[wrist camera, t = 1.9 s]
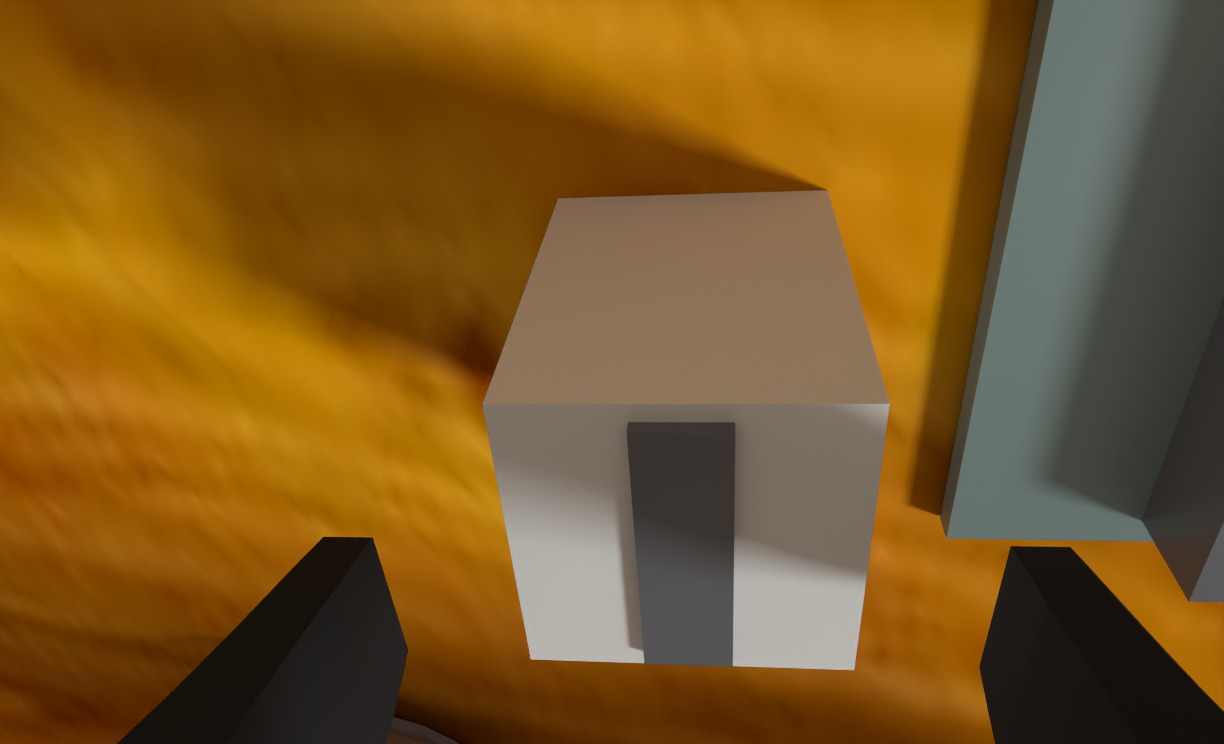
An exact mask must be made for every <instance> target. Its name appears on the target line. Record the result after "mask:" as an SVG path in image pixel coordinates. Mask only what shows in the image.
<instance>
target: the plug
mask: <svg viewBox="0 0 1224 744" xmlns="http://www.w3.org/2000/svg"><path fill="white" fill-rule="evenodd" d="M889 405H890V403H889V400H888V397H887V393H886V390H885V386H884V383H883V379H882V376H881V372H880V369H879V366H878V362H877V359H876V355H875V352H874V348H873V345H872V341H871V338H870V334H869V331H868V328H867V324H866V321H865V317H864V314H863V310H862V307H861V303H860V300H859V296H858V293H857V290H856V286H855V283H854V279H853V276H852V272H851V269H850V265H849V262H848V259H847V255H846V252H845V248H844V245H843V241H842V238H841V234H840V231H839V227H838V224H837V221H836V217H835V214H834V210H833V207H832V203H831V200H830V196H829V193H828V190H816V191H783V192H750V193H717V194H684V195H651V196H618V197H585V198H558V200H557V203H556V206H555V208H554V211H553V214H552V217H551V219H550V222H549V225H548V227H547V230H546V233H545V236H544V238H543V241H542V244H541V247H540V249H539V252H538V255H537V257H536V260H535V263H534V266H533V268H532V271H531V274H530V276H529V279H528V282H527V285H526V287H525V290H524V293H523V296H522V298H521V301H520V304H519V306H518V309H517V312H516V315H515V317H514V320H513V323H512V326H511V328H510V331H509V334H508V336H507V339H506V342H505V345H504V347H503V350H502V353H501V356H500V358H499V361H498V364H497V366H496V369H495V372H494V375H493V377H492V380H491V383H490V386H489V388H488V391H487V394H486V396H485V399H484V402H483V410H484V415H485V420H486V426H487V431H488V436H489V442H490V447H491V452H492V457H493V463H494V468H495V473H496V478H497V484H498V489H499V494H500V499H501V505H502V510H503V515H504V521H505V526H506V531H507V536H508V542H509V547H510V552H511V557H512V563H513V568H514V573H515V579H516V584H517V589H518V594H519V600H520V605H521V610H522V615H523V621H524V626H525V631H526V637H527V642H528V647H529V652H530V658H531V659H534V660H564V661H594V662H625V663H644V664H669V665H699V666H729V667H733V666H745V667H776V668H806V669H836V670H854V668H855V660H856V653H857V645H858V638H859V630H860V623H861V615H862V608H863V600H864V593H865V585H866V578H867V570H868V563H869V555H870V548H871V540H872V533H873V525H874V518H875V510H876V503H877V495H878V487H879V480H880V472H881V465H882V457H883V450H884V442H885V435H886V427H887V420H888V412H889Z"/></svg>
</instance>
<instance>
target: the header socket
mask: <svg viewBox="0 0 1224 744" xmlns="http://www.w3.org/2000/svg"><path fill="white" fill-rule="evenodd" d="M940 519H941V522H942V525H943V529H944V532H945V535H946V538H953V539H1022V540H1091V541H1154V543H1155V544H1156V546H1157V548H1158V550H1159V551H1160V553H1161V555H1162V556H1163V558H1164V560H1165V562H1166V563H1167V565H1168V567H1169V568H1170V570H1171V572H1172V573H1173V575H1174V577H1175V579H1176V580H1177V582H1178V584H1179V585H1180V587H1181V589H1182V591H1183V592H1184V594H1185V596H1186V597H1187V599H1188V601H1197V602H1224V0H1038V5H1037V10H1036V16H1035V21H1034V26H1033V31H1032V37H1031V42H1030V47H1029V52H1028V58H1027V63H1026V68H1025V73H1024V79H1023V84H1022V89H1021V94H1020V100H1019V105H1018V110H1017V116H1016V121H1015V126H1014V131H1013V137H1012V142H1011V147H1010V152H1009V158H1008V163H1007V168H1006V173H1005V179H1004V184H1003V189H1002V194H1001V200H1000V205H999V210H998V215H997V221H996V226H995V231H994V236H993V242H992V247H991V252H990V257H989V263H988V268H987V273H986V279H985V284H984V289H983V294H982V300H981V305H980V310H979V315H978V321H977V326H976V331H975V336H974V342H973V347H972V352H971V357H970V363H969V368H968V373H967V378H966V384H965V389H964V394H963V399H962V405H961V410H960V415H959V421H958V426H957V431H956V436H955V442H954V447H953V452H952V457H951V463H950V468H949V473H948V478H947V484H946V489H945V494H944V499H943V505H942V510H941V515H940Z"/></svg>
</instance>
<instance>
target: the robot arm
mask: <svg viewBox="0 0 1224 744" xmlns="http://www.w3.org/2000/svg"><path fill="white" fill-rule="evenodd" d="M407 653H408V649H407V645H406V642H405V639H404V636H403V633H402V629H401V626H400V623H399V620H398V617H397V614H396V610H395V607H394V604H393V601H392V598H391V594H390V591H389V588H388V585H387V582H386V579H385V575H384V572H383V569H382V566H381V563H380V560H379V556H378V553H377V550H376V547H375V544H374V540H373V538H364V537H323V538H322V539H321V540H320V541H319V542H318V543H317V544H316V545H315V546H314V547H313V548H312V549H311V550H310V551H309V552H308V553H307V554H306V555H305V556H304V557H303V558H302V559H301V560H300V561H299V562H298V563H297V564H296V565H295V566H294V567H293V569H292V570H291V571H290V572H289V573H288V574H287V575H286V576H285V577H284V578H283V579H282V580H281V581H280V582H279V583H278V584H277V585H276V586H275V587H274V588H273V589H272V590H271V591H270V593H269V594H268V595H267V596H266V597H265V598H264V599H263V600H262V601H261V602H260V603H259V604H258V605H257V606H256V607H255V608H254V609H253V610H252V611H251V612H250V613H249V614H248V615H247V616H246V618H245V619H244V620H243V621H242V622H241V623H240V624H239V625H238V626H237V627H236V628H235V629H234V630H233V631H232V632H231V633H230V634H229V635H228V636H227V637H226V638H225V639H224V640H223V641H222V642H221V643H220V644H219V645H218V646H217V647H216V648H215V649H214V650H213V651H212V652H211V653H210V654H209V655H208V656H207V657H206V658H205V659H204V660H203V661H202V662H201V663H200V664H199V665H198V666H197V667H196V668H195V669H194V670H193V671H192V672H191V673H190V674H189V675H188V676H187V677H186V678H185V679H184V680H183V681H182V682H181V683H180V684H179V685H178V686H177V687H176V688H175V689H174V690H173V691H172V692H171V693H170V694H169V695H168V696H167V697H166V698H165V699H164V700H163V701H162V702H161V703H160V704H159V705H158V706H157V707H156V708H155V709H154V710H153V711H151V712H150V713H149V714H148V715H147V716H146V717H145V718H144V719H143V720H142V721H141V722H140V723H139V724H138V725H136V726H135V727H134V728H133V729H132V730H131V731H130V732H129V733H128V734H127V735H126V736H125V737H124V738H123V739H121V740H120V741H119V742H118V743H117V744H386V741H387V738H388V736H389V732H390V728H391V724H392V720H393V715H394V711H395V707H396V703H397V699H398V695H399V690H400V685H401V681H402V676H403V671H404V667H405V662H406V657H407ZM979 667H980V672H981V677H982V682H983V687H984V692H985V697H986V702H987V707H988V712H989V717H990V722H991V726H992V731H993V735H994V740H995V744H1224V711H1223V710H1222V709H1221V708H1220V707H1219V706H1218V705H1217V704H1216V703H1215V702H1214V701H1213V700H1212V699H1211V698H1210V697H1209V696H1208V695H1207V694H1206V693H1205V692H1204V691H1203V690H1202V689H1201V688H1200V687H1199V686H1198V685H1197V684H1196V682H1195V681H1194V680H1193V679H1192V678H1191V677H1190V676H1189V675H1188V674H1187V673H1186V672H1185V671H1184V670H1183V669H1182V668H1181V667H1180V666H1179V665H1178V663H1177V662H1176V661H1175V660H1174V659H1173V658H1172V657H1171V656H1170V655H1169V654H1168V653H1167V652H1166V651H1165V650H1164V648H1163V647H1162V646H1161V645H1160V644H1159V643H1158V642H1157V641H1156V640H1155V639H1154V638H1153V637H1152V635H1151V634H1150V633H1149V632H1148V631H1147V630H1146V629H1145V628H1144V627H1143V626H1142V625H1141V624H1140V622H1139V621H1138V620H1137V619H1136V618H1135V617H1134V616H1133V615H1132V614H1131V613H1130V612H1129V610H1128V609H1127V608H1126V607H1125V606H1124V605H1123V604H1122V603H1121V602H1120V601H1119V599H1118V598H1117V597H1116V596H1115V595H1114V594H1113V593H1112V592H1111V591H1110V590H1109V588H1108V587H1107V586H1106V585H1105V584H1104V583H1103V582H1102V581H1101V580H1100V579H1099V577H1098V576H1097V575H1096V574H1095V573H1094V572H1093V571H1092V570H1091V569H1090V568H1089V566H1088V565H1087V564H1086V563H1085V562H1084V561H1083V560H1082V559H1081V558H1080V557H1079V556H1078V555H1077V554H1076V553H1075V552H1074V551H1073V550H1072V549H1071V548H1070V547H1020V546H1011V548H1010V551H1009V555H1008V559H1007V563H1006V567H1005V571H1004V574H1003V578H1002V582H1001V586H1000V590H999V594H998V597H997V601H996V605H995V609H994V613H993V617H992V620H991V624H990V628H989V632H988V636H987V640H986V643H985V647H984V651H983V655H982V659H981V663H980V666H979Z"/></svg>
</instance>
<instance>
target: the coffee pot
mask: <svg viewBox="0 0 1224 744" xmlns="http://www.w3.org/2000/svg"><path fill="white" fill-rule="evenodd" d="M386 744H459V743H458V742H456V741H455V740H452V739H450V738H448V737H446V736H444V735H442V734H440V733H438V732H436V731H434V730H432V729H430V728H427V727H425V726H422V725H419V724H416V723H412V722H409V721H406V720H403V719H399V718H396V717H393V720H392V724H391V728H390V732H389V736H388V738H387V741H386Z"/></svg>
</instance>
